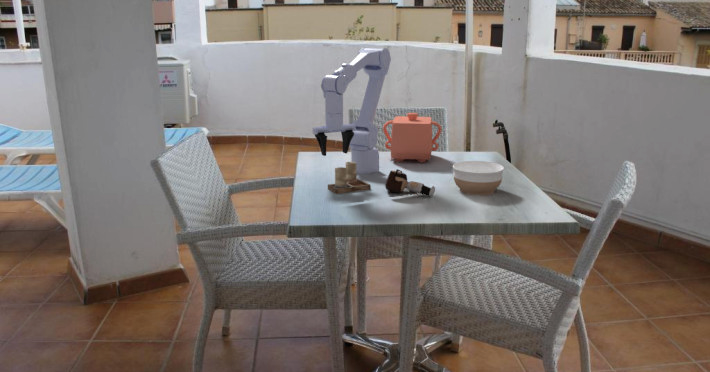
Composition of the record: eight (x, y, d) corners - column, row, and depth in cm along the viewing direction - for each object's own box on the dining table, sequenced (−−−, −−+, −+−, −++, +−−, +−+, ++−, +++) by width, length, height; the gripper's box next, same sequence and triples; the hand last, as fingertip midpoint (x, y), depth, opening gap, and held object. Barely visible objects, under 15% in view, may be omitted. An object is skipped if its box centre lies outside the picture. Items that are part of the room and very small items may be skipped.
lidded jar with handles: (386, 149, 253) (386, 106, 248) (440, 150, 250) (442, 107, 245) (380, 162, 229) (380, 116, 224) (440, 164, 226) (442, 117, 221)
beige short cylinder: (353, 180, 201) (353, 161, 200) (359, 182, 198) (359, 163, 196) (343, 181, 200) (342, 162, 198) (348, 184, 196) (348, 164, 194)
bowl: (472, 200, 182) (473, 175, 180) (441, 187, 196) (442, 163, 193) (513, 193, 189) (515, 169, 187) (480, 181, 203) (482, 158, 201)
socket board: (361, 186, 196) (361, 180, 196) (370, 191, 191) (370, 184, 190) (327, 191, 191) (327, 184, 191) (336, 196, 186) (336, 189, 185)
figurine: (437, 179, 181) (389, 165, 184) (428, 205, 180) (381, 190, 182) (436, 186, 190) (391, 172, 193) (429, 210, 188) (383, 196, 191)
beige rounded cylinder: (342, 186, 192) (342, 166, 191) (349, 189, 189) (349, 169, 187) (332, 188, 190) (331, 168, 188) (339, 191, 187) (339, 170, 185)
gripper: (349, 109, 201) (349, 149, 204) (308, 112, 195) (309, 153, 198) (358, 112, 195) (358, 153, 198) (317, 115, 189) (317, 158, 192)
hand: (334, 154), depth 198 cm, fingers open, 7 cm apart
